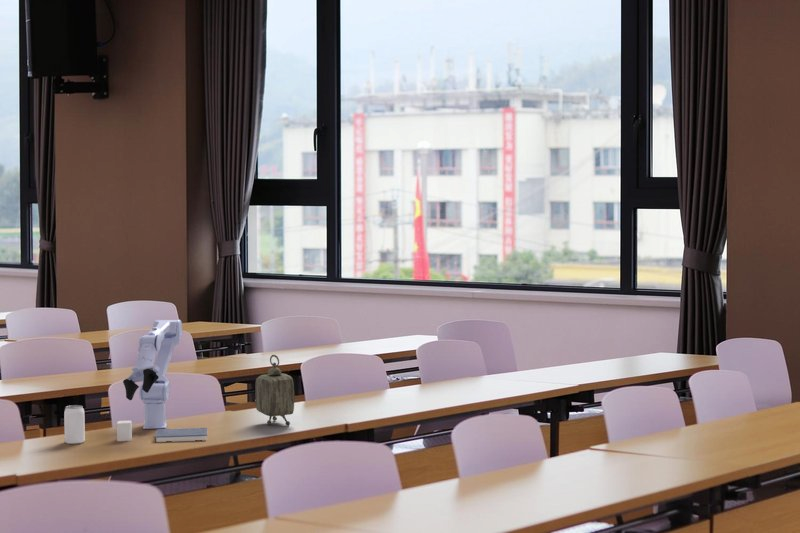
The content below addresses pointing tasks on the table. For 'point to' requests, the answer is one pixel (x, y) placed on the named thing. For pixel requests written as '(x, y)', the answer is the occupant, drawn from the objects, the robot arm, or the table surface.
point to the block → (124, 430)
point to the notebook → (181, 434)
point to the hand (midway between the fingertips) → (137, 394)
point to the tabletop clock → (275, 393)
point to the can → (74, 424)
